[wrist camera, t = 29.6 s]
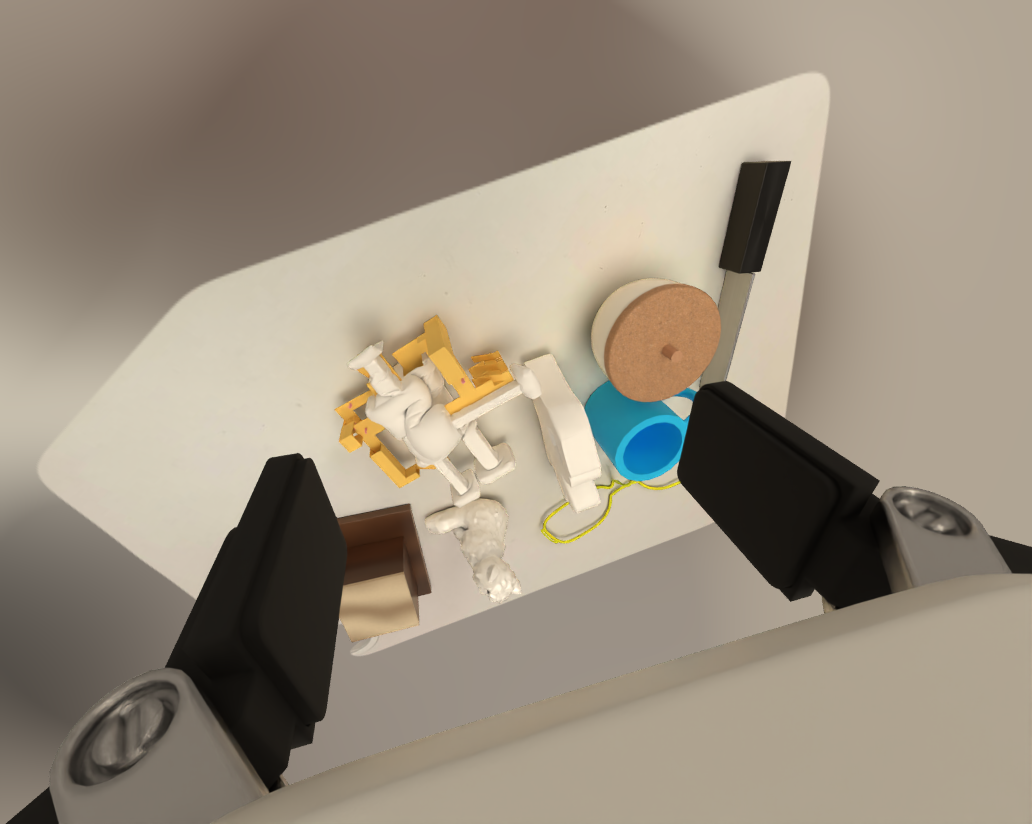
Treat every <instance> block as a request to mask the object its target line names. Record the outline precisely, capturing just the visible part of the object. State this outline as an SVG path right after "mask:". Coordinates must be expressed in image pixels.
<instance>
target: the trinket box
mask: <svg viewBox="0 0 1032 824" xmlns="http://www.w3.org/2000/svg"><path fill="white" fill-rule="evenodd" d="M720 333H721V319H720V314H719V311H718V308H717V306H716V304H715V302H714V301H713V300H712V298H711V297H710V296H709V295H708V294H706V293H705V292H703V291H702V290H700V289H698V288H696V287H693V286H689V285H686V284H681V283H678V282H675V281H672V280H667V279H658V278H648V279H641V280H637V281H633V282H630V283H628V284H626V285H623V286H622V287H620V288H619V289H617V290H616V291H615V292H613V293H612V294H611V295H610V296H609V297H608V298H607V299H606V300H605V301H604V303H603V304H602V305H601V307H600V308H599V310H598V312H597V314H596V316H595V319H594V322H593V326H592V331H591V342H592V350H593V353H594V356H595V359H596V361H597V363H598V365H599V367H600V368H601V370H602V371H603V373H604V374H605V375H606V377H607V378H608V379H609V380H610V382H611V383H612V384H613V386H614V387H615V388H616V389H617V390H618V391H619V392H620V393H621V394H622V395H624V396H625V397H627V398H629V399H631V400H634V401H639V402H655V401H660V400H664V399H667V398H670V397H672V396H674V395H676V394H678V393H680V392H681V391H683V390H685V389H686V388H687V387H689V386H690V385H691V384H692V383H693V382H694V381H696V380H697V379H698V378H699V377H700V375H701V374H702V373H703V372H704V371H705V369H706V368H707V366H708V365H709V364H710V362H711V360H712V358H713V356H714V354H715V352H716V349H717V347H718V343H719V339H720Z"/></svg>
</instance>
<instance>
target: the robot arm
mask: <svg viewBox="0 0 1032 824" xmlns="http://www.w3.org/2000/svg"><path fill="white" fill-rule="evenodd" d="M677 475H678V479H679V481H680V483H681V484H682V485H683V486H684V487H685V489H686V490H687V491H688V492H689V493H690V494H691V495H692V497H693V498H694V499H695V500H696V501H697V502H698V503H699V504H700V506H701V507H702V508H703V509H704V510H705V511H706V512H707V514H708V515H709V516H710V517H711V518H712V519H713V520H714V521H715V523H716V524H717V525H718V526H719V527H720V528H721V529H722V531H723V532H724V533H725V534H726V535H727V536H728V537H729V538H730V540H731V541H732V542H733V543H734V544H735V545H736V546H737V547H738V549H739V550H740V551H741V552H742V553H743V554H744V555H745V556H746V558H747V559H748V560H749V561H750V562H751V563H752V565H753V566H754V567H755V568H756V569H757V570H758V571H759V572H760V574H761V575H762V576H763V577H764V578H765V579H766V580H767V581H768V583H769V584H771V586H773V587H775V588H777V589H780V590H781V592H782V593H783V594H784V595H785V596H786V597H787V598H788V599H789V601H790V602H791V601H794V600H798V599H801V598H805V597H808V596H811V594H812V593H813V591H814V589H816V590H817V592H818V593H819V594H820V595H821V596H822V603H823V609H824V614H822V615H819V616H815V617H812V618H808V619H805V620H802V621H799V622H795V623H792V624H788V625H785V626H782V627H779V628H776V629H772V630H769V631H765V632H762V633H759V634H755V635H752V636H749V637H745V638H742V639H739V640H736V641H732V642H729V643H726V644H723V645H719V646H716V647H713V648H710V649H707V650H703V651H700V652H697V653H693V654H690V655H687V656H684V657H680V658H677V659H674V660H670V661H667V662H664V663H661V664H657V665H654V666H651V667H648V668H645V669H641V670H638V671H635V672H632V673H629V674H625V675H622V676H619V677H615V678H612V679H609V680H606V681H602V682H599V683H596V684H593V685H589V686H586V687H583V688H580V689H577V690H574V691H570V692H567V693H564V694H561V695H558V696H554V697H551V698H548V699H545V700H542V701H539V702H535V703H532V704H529V705H526V706H522V707H519V708H516V709H513V710H510V711H507V712H503V713H501V714H497V715H494V716H491V717H487V718H485V719H481V720H478V721H475V722H471V723H468V724H465V725H462V726H459V727H455V728H452V729H449V730H446V731H443V732H440V733H437V734H434V735H431V736H428V737H425V738H422V739H419V740H416V741H413V742H410V743H407V744H404V745H401V746H398V747H395V748H392V749H389V750H386V751H383V752H380V753H377V754H374V755H371V756H368V757H365V758H362V759H359V760H356V761H353V762H350V763H347V764H344V765H341V766H338V767H335V768H332V769H330V770H327V771H325V772H322V773H319V774H317V775H314V776H312V777H309V778H307V779H304V780H301V781H299V782H296V783H294V784H291V785H289V784H288V782H287V781H286V779H285V778H284V776H283V775H282V773H283V772H284V771H285V769H286V768H287V766H288V761H289V756H290V750H291V749H294V748H297V747H301V746H304V745H307V744H311V743H312V741H313V734H314V728H315V722H318V721H321V720H323V718H324V716H325V713H326V709H327V702H328V694H329V687H330V680H331V672H332V665H333V658H334V650H335V642H336V635H337V628H338V621H339V613H340V606H341V598H342V591H343V584H344V576H345V569H346V561H347V545H346V541H345V538H344V536H343V533H342V531H341V528H340V526H339V523H338V521H337V518H336V516H335V513H334V511H333V508H332V506H331V503H330V501H329V498H328V496H327V494H326V491H325V489H324V486H323V484H322V481H321V479H320V476H319V474H318V471H317V469H316V466H315V464H314V462H313V460H312V459H311V458H306V459H304V458H303V456H302V455H301V454H299V453H296V454H290V455H284V456H278V457H272V458H269V459H268V460H267V462H266V464H265V466H264V468H263V471H262V473H261V475H260V477H259V480H258V482H257V484H256V486H255V488H254V491H253V493H252V495H251V497H250V500H249V502H248V504H247V506H246V508H245V511H244V513H243V515H242V517H241V520H240V522H239V524H238V526H237V527H235V528H234V529H232V530H231V531H230V532H229V533H228V535H227V537H226V538H225V540H224V542H223V545H222V547H221V549H220V551H219V553H218V555H217V557H216V560H215V562H214V564H213V566H212V568H211V570H210V572H209V574H208V577H207V579H206V581H205V583H204V585H203V587H202V589H201V592H200V594H199V596H198V598H197V600H196V602H195V604H194V607H193V609H192V611H191V613H190V615H189V617H188V619H187V621H186V624H185V626H184V628H183V630H182V632H181V634H180V637H179V639H178V641H177V643H176V645H175V647H174V649H173V651H172V654H171V656H170V658H169V660H168V662H167V665H166V666H165V668H162V669H157V670H151V671H148V672H146V673H144V674H142V675H139V676H136V677H134V678H132V679H130V680H128V681H127V682H125V683H124V684H122V685H120V686H119V687H117V688H116V689H114V690H112V691H111V692H109V693H108V694H107V695H106V696H105V697H103V698H102V699H101V700H100V701H99V702H97V703H96V704H95V705H94V706H93V707H92V708H90V709H89V711H88V712H87V713H86V714H85V715H84V716H83V717H82V718H81V719H80V720H79V722H78V723H77V724H76V725H75V726H74V727H73V728H72V729H71V731H70V733H69V734H68V735H67V737H66V739H65V740H64V742H63V743H62V745H61V746H60V748H59V749H58V751H57V754H56V756H55V759H54V762H53V764H52V767H51V769H50V786H49V787H48V788H47V789H46V790H45V791H44V792H43V793H41V794H40V795H39V796H38V797H37V798H35V799H34V800H33V801H32V802H31V803H29V804H28V805H27V806H26V807H25V808H24V809H22V811H20V812H19V813H18V814H17V815H15V816H14V817H13V818H12V819H11V820H10V821H8V822H7V823H6V824H1032V547H1029V546H1026V545H1022V544H1019V543H1015V542H1012V541H1008V540H1005V539H1001V538H998V537H993V536H990V535H988V533H987V532H986V530H985V528H983V525H982V524H981V523H980V522H979V521H978V519H977V518H976V517H975V516H974V515H973V514H972V513H970V512H969V511H968V510H966V509H965V508H964V507H962V506H961V505H959V504H957V503H955V502H953V501H952V500H950V499H948V498H945V497H943V496H940V495H938V494H935V493H933V492H930V491H926V490H923V489H919V488H912V487H906V486H902V487H892V488H889V489H887V490H886V491H885V492H884V493H883V495H882V496H881V498H880V499H879V498H878V497H876V496H875V495H874V494H872V493H873V491H874V489H875V488H876V486H877V485H878V483H879V480H878V479H876V478H875V477H873V476H872V475H870V474H869V473H867V472H866V471H864V470H863V469H861V468H860V467H858V466H857V465H855V464H853V463H852V462H850V461H849V460H847V459H846V458H844V457H843V456H841V455H840V454H838V453H837V452H835V451H834V450H832V449H830V448H829V447H828V446H826V445H825V444H823V443H822V442H820V441H819V440H817V439H815V438H814V437H812V436H811V435H809V434H808V433H806V432H805V431H803V430H802V429H800V428H799V427H797V426H796V425H794V424H793V423H791V422H790V421H788V420H786V419H785V418H784V417H782V416H781V415H779V414H778V413H776V412H774V411H773V410H771V409H770V408H768V407H767V406H765V405H764V404H762V403H761V402H759V401H758V400H756V399H755V398H753V397H752V396H750V395H749V394H747V393H746V392H744V391H743V390H741V389H740V388H738V387H736V386H735V385H733V384H732V383H730V382H728V381H721V382H715V383H709V384H705V385H703V386H702V387H701V388H700V390H699V391H698V392H697V393H696V394H695V396H694V400H693V404H692V409H691V413H690V417H689V422H688V426H687V430H686V435H685V439H684V443H683V448H682V452H681V456H680V460H679V465H678V469H677Z"/></svg>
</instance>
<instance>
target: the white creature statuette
mask: <svg viewBox="0 0 1032 824" xmlns="http://www.w3.org/2000/svg"><path fill="white" fill-rule="evenodd" d="M508 518H509V516H508V515H507V514H506V509H505V508H503V507H502V506H501V504H500V503H499V502H497V501H495V500H489V499H479V498H478V499H476V500H473V501H471V502H470V503H468V504H466V505H464V506H463V507H461V508H459V507H457V506H455V507H452V508H448V509H446V510H443V511H440V512H436V513H434V514H431V515H430V516H429V517H427V518H425V525H426V527H427V529H429V532H430V533H431V534H443V533H448V532H449V531H451V530H453V532H454V535H456V538H457V539H459V541H460V544H461V547H460V549H461V550H462V551H463V554H464V557H465V558H468V562H469V564H470V565H471V567H472V569H473V572H474V575H473V581H474V582H476V585H477V587H478V588H479V589H480V594H482V595H488V597H490V598H489V599H490V601H493V602H494V603H496V602H498V603H499V604H501V603H502V602H503V601H505V600H507V599H508V597H509V595H510V594H511V593H513V594H520V593H521V586H520V582H519V580H518V579H516V576H515V573H514V572H513V571H512V570H511V569H510V566H509V564H508V563H505V562H504V561H503V560H502V559H501V558H502V557H503V555H504V550H505V548H506V546H505V545H504V539H505V534H506V529H507V521H508Z"/></svg>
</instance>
